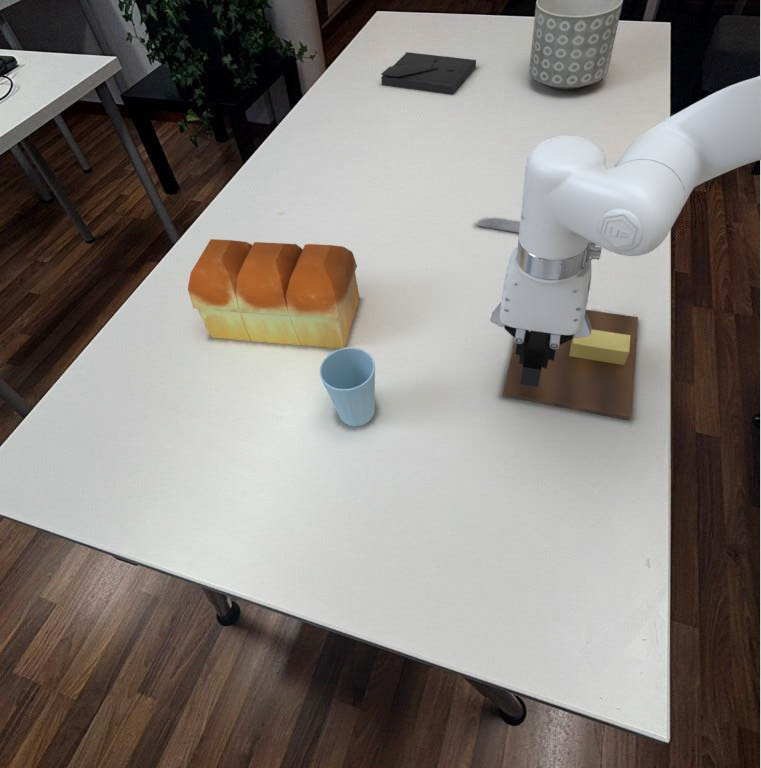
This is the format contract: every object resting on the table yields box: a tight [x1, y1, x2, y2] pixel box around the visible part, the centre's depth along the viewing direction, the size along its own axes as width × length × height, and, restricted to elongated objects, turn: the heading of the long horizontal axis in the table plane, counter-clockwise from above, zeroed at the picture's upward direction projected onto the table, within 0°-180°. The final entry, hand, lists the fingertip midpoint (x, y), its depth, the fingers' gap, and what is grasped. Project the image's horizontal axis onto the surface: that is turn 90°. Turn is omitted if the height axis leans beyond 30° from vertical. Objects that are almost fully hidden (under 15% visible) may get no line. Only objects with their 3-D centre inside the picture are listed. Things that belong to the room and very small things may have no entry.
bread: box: [187, 238, 361, 350], centre depth 93 cm, size 25×12×15 cm, turn 79°
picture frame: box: [380, 51, 477, 95], centre depth 150 cm, size 16×3×21 cm
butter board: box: [502, 309, 639, 421], centre depth 86 cm, size 18×20×1 cm
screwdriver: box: [520, 330, 548, 387], centre depth 79 cm, size 19×2×4 cm, turn 162°
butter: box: [569, 329, 630, 365], centre depth 84 cm, size 8×4×3 cm, turn 72°
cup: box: [319, 346, 376, 427], centre depth 80 cm, size 8×8×10 cm
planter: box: [528, 0, 624, 91], centre depth 134 cm, size 19×19×18 cm
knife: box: [476, 218, 596, 245], centre depth 106 cm, size 25×1×5 cm
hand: (534, 358), depth 77 cm, fingers closed on screwdriver, 2 cm apart
